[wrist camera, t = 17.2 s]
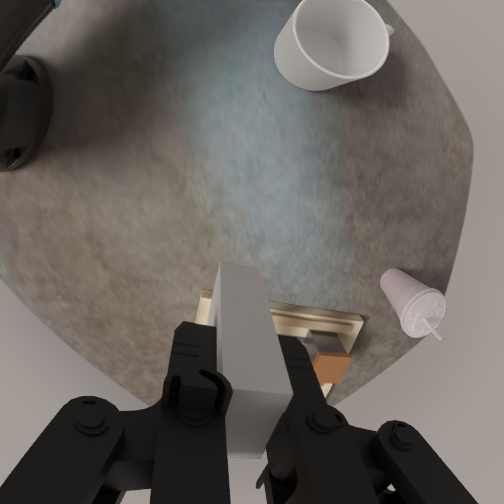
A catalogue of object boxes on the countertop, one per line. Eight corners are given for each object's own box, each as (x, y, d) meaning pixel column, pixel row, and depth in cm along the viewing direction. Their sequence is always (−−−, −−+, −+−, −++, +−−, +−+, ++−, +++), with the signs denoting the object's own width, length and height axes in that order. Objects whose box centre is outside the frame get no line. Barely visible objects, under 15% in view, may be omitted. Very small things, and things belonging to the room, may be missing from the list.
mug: (379, 76, 32) (430, 64, 22) (288, 101, 32) (316, 90, 22) (354, 13, 28) (396, -17, 19) (260, 33, 29) (276, -2, 19)
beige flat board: (183, 388, 46) (182, 401, 43) (201, 289, 40) (200, 300, 37) (315, 401, 49) (319, 413, 47) (358, 314, 43) (366, 325, 41)
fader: (297, 353, 42) (307, 382, 37) (308, 327, 41) (319, 355, 35) (326, 356, 43) (338, 383, 37) (337, 331, 41) (352, 357, 36)
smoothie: (362, 282, 41) (413, 343, 29) (396, 249, 40) (457, 299, 27) (386, 307, 44) (434, 368, 31) (417, 277, 42) (473, 329, 29)
